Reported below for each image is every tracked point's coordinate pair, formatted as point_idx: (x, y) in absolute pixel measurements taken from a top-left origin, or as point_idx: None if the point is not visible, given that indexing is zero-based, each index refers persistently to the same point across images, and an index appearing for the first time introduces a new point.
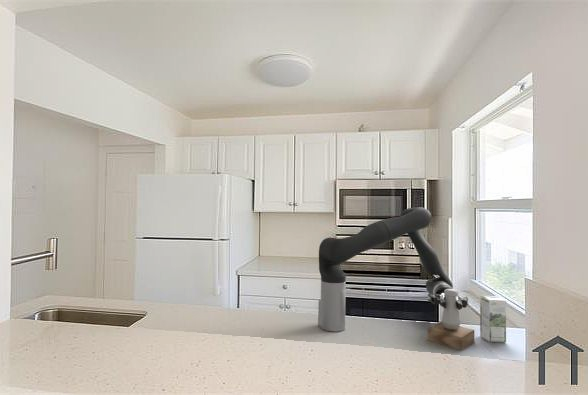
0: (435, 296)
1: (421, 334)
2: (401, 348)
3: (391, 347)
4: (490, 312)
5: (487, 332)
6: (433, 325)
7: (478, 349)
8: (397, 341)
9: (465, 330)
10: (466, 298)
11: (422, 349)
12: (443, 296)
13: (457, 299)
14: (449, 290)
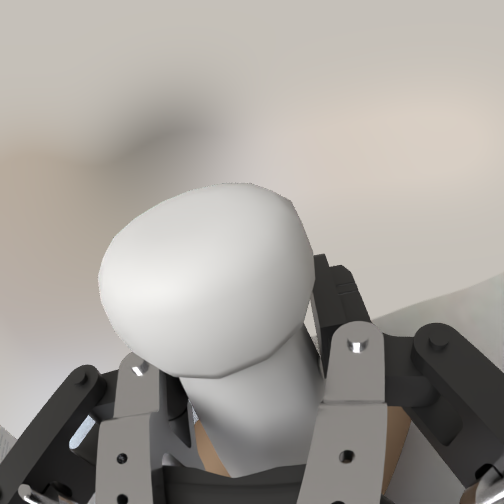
0: (460, 395)
1: (447, 475)
2: (452, 296)
3: (474, 287)
4: (3, 429)
5: (88, 502)
6: (398, 456)
7: (193, 418)
8: (489, 332)
9: (203, 455)
10: (16, 453)
11: (401, 323)
12: (332, 401)
13: (141, 380)
14: (230, 183)
